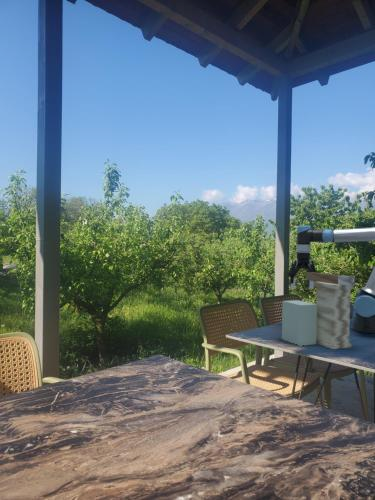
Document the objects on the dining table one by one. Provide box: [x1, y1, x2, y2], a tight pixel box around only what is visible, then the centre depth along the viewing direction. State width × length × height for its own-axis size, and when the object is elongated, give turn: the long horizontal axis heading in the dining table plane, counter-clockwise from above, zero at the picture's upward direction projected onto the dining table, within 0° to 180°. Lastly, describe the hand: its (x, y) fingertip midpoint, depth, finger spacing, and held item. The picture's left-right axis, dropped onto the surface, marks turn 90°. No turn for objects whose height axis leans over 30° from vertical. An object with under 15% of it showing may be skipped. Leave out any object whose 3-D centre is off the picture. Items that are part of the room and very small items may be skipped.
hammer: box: [350, 300, 354, 319], centre depth 258 cm, size 5×11×30 cm
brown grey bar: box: [306, 271, 356, 287], centre depth 195 cm, size 4×28×4 cm, turn 24°
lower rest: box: [281, 299, 317, 347], centre depth 197 cm, size 10×14×20 cm
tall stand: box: [314, 281, 355, 350], centre depth 192 cm, size 12×14×30 cm
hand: (302, 288), depth 229 cm, fingers open, 13 cm apart
